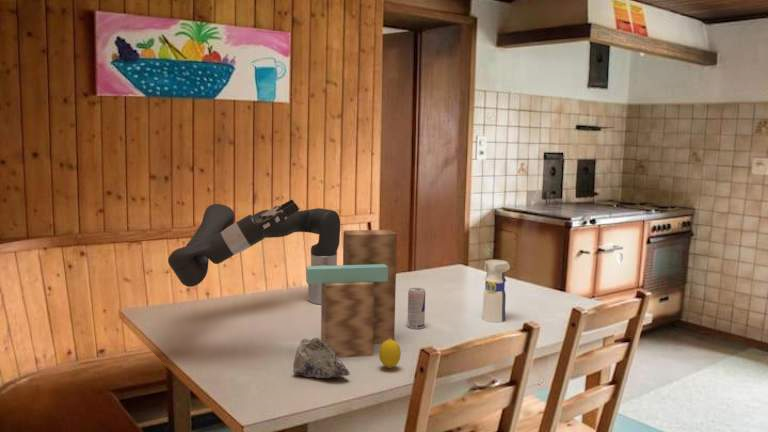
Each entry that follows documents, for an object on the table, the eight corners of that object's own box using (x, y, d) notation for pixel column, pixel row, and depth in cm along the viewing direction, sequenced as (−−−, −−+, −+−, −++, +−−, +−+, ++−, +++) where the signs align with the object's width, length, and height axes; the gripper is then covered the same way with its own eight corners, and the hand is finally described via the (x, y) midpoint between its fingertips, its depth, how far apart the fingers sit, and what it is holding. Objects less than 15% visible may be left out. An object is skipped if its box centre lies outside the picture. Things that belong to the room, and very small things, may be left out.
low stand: (325, 358, 177) (326, 285, 174) (321, 347, 186) (321, 278, 183) (372, 355, 180) (374, 284, 177) (366, 344, 189) (367, 276, 186)
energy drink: (426, 325, 209) (427, 288, 207) (421, 330, 204) (422, 292, 202) (410, 323, 210) (411, 286, 209) (405, 328, 205) (406, 290, 204)
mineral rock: (351, 381, 161) (352, 342, 160) (313, 391, 155) (313, 349, 154) (325, 365, 171) (326, 328, 170) (288, 373, 165) (288, 335, 164)
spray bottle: (501, 324, 212) (505, 248, 208) (477, 319, 216) (480, 245, 213) (510, 318, 218) (514, 244, 215) (487, 314, 223) (490, 241, 220)
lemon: (378, 365, 173) (378, 335, 172) (399, 364, 173) (399, 335, 172) (379, 372, 167) (380, 342, 166) (401, 372, 168) (402, 342, 167)
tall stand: (346, 345, 188) (348, 234, 184) (342, 336, 196) (343, 230, 191) (394, 342, 191) (396, 234, 187) (387, 334, 199) (390, 229, 195)
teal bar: (307, 284, 176) (307, 269, 175) (306, 280, 179) (306, 266, 179) (387, 281, 181) (388, 267, 180) (384, 278, 185) (384, 264, 184)
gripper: (235, 226, 167) (291, 194, 169) (235, 219, 181) (286, 189, 183) (250, 251, 169) (305, 219, 171) (249, 242, 182) (299, 212, 185)
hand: (295, 204), depth 177 cm, fingers open, 8 cm apart
